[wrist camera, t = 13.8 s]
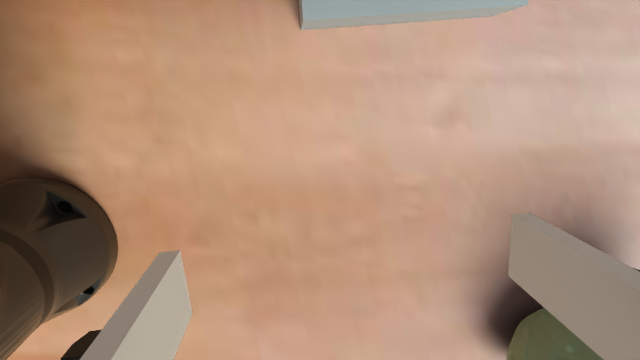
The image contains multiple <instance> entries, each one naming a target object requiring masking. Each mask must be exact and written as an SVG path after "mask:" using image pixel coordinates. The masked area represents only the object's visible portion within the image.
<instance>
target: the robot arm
mask: <svg viewBox="0 0 640 360" xmlns="http://www.w3.org/2000/svg"><path fill="white" fill-rule="evenodd" d="M117 251H118V250H117V240H116V235H115V232H114V229H113V227H112V224H111V222H110V221H109V219H108V217H107V216H106V214H105V213H104V211H103V210H102V209H101V208H100V207H99V206H98V205H97V204H96V203H95V202H94V201H93V200H92V199H91V198H90V197H88V196H87V195H86V194H84V193H83V192H81V191H80V190H78V189H76V188H74V187H72V186H70V185H68V184H65V183H62V182H60V181H56V180H52V179H47V178H37V177H29V178H19V179H14V180H11V181H8V182H5V183H2V184H0V360H6V359H7V358H8V357H9V356H10V355H11V354H12V353H13V352H14V351H15V350H16V349H17V348H18V347H19V346H20V345H21V344H22V343H23V342H24V341H25V340H26V339H27V338H28V337H29V336H30V335H31V334H32V333H33V332H34V331H35V330H36V329H37V328H38V327H39V326H40V325H41V324H43V323H45V322H47V321H49V320H51V319H53V318H55V317H57V316H60V315H62V314H64V313H66V312H68V311H70V310H72V309H74V308H76V307H78V306H80V305H82V304H83V303H85V302H86V301H88V300H89V299H90V298H91V297H92V296H94V295H95V294H96V292H97V291H98V290H99V289H100V288H101V287H102V286H103V285H104V284H105V283H106V281H107V280H108V279H109V277H110V276H111V274H112V272H113V270H114V267H115V264H116V260H117ZM508 276H509V277H510V278H511V279H512V280H513V281H514V282H516V283H517V284H518V285H519V286H520V287H521V288H522V289H524V290H525V291H526V292H527V293H528V294H529V295H530V296H531V297H533V298H534V299H535V300H536V301H537V302H538V303H539V304H541V305H542V306H543V307H544V308H545V309H546V310H547V311H549V312H550V313H551V314H552V315H553V316H554V317H555V318H557V319H558V320H559V321H560V322H561V323H562V324H563V325H565V326H566V327H567V328H568V329H569V330H570V331H571V332H573V333H574V334H575V335H576V336H577V337H578V338H579V339H580V340H582V341H583V342H584V343H585V344H586V345H587V346H588V347H590V348H591V349H592V350H593V351H594V352H595V353H596V354H598V355H599V356H600V357H601V358H602V359H603V360H640V270H638V269H635V268H632V267H630V266H628V265H626V264H624V263H623V262H621V261H619V260H617V259H615V258H613V257H611V256H610V255H608V254H606V253H604V252H602V251H600V250H598V249H597V248H595V247H593V246H591V245H589V244H587V243H585V242H584V241H582V240H580V239H578V238H576V237H574V236H572V235H571V234H569V233H567V232H565V231H563V230H561V229H559V228H557V227H556V226H554V225H552V224H550V223H548V222H546V221H544V220H543V219H541V218H539V217H537V216H535V215H533V214H531V213H525V214H516V215H512V226H511V241H510V256H509V270H508ZM191 316H192V308H191V303H190V298H189V293H188V288H187V283H186V278H185V273H184V268H183V262H182V257H181V252H180V251H171V252H161V253H159V254H158V255H157V257H156V258H155V259H154V261H153V262H152V263H151V265H150V266H149V267H148V269H147V270H146V271H145V273H144V274H143V276H142V277H141V278H140V280H139V281H138V282H137V284H136V285H135V286H134V288H133V289H132V290H131V292H130V293H129V294H128V296H127V297H126V298H125V300H124V301H123V302H122V304H121V305H120V306H119V308H118V309H117V310H116V312H115V313H114V314H113V316H112V317H111V318H110V320H109V321H108V322H107V324H106V325H105V326H104V328H103V329H102V330H96V331H89V332H88V333H87V334H86V335H84V336H83V337H82V338H80V339H79V340H78V341H76V342H75V343H74V344H72V346H71V347H70V348H69V349H68V350H67V352H66V353H65V354H64V355H63V357H62V358H61V360H174V357H175V355H176V352H177V350H178V347H179V345H180V343H181V340H182V338H183V335H184V333H185V330H186V328H187V325H188V323H189V321H190V318H191Z"/></svg>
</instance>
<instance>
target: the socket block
mask: <svg viewBox="0 0 640 360" xmlns="http://www.w3.org/2000/svg"><path fill="white" fill-rule="evenodd" d="M298 4H299V16H300V28H301V30H310V29H324V28H338V27H352V26H366V25H380V24H394V23H409V22H423V21H437V20H451V19H465V18H479V17H492V16H495V15H498V14H501V13H504V12H507V11H510V10H514V9H517V8H520V7H523V6H526V5H528V0H298Z"/></svg>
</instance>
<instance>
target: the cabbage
mask: <svg viewBox="0 0 640 360" xmlns="http://www.w3.org/2000/svg"><path fill="white" fill-rule="evenodd" d="M507 360H603V359H602V358H601V357H600V356H599V355H598V354H596V353H595V352H594V351H593V350H592V349H591V348H590V347H588V346H587V345H586V344H585V343H584V342H583V341H582V340H580V339H579V338H578V337H577V336H576V335H575V334H574V333H573V332H571V331H570V330H569V329H568V328H567V327H566V326H565V325H563V324H562V323H561V322H560V321H559V320H558V319H557V318H555V317H554V316H553V315H552V314H551V313H550V312H549V311H547V310H546V309H545V308H542V309H540V310H538V311H536V312H534V313H532V314H530V315H529V316H527V317H526V318H524V319H523V320H522V321H521V322H520V323H519V325H518V326H517V328H516V330H515V332H514V335H513V337H512V340H511V343H510V345H509V349H508V353H507Z"/></svg>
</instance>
